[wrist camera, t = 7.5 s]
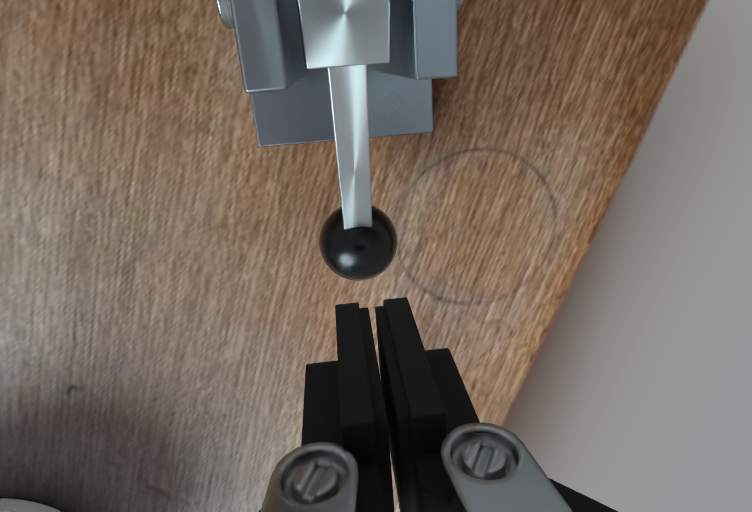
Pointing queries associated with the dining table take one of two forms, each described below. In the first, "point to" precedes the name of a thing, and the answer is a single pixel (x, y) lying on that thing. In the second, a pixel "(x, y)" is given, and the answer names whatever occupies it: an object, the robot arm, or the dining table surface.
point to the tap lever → (351, 127)
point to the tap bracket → (311, 86)
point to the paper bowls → (23, 506)
